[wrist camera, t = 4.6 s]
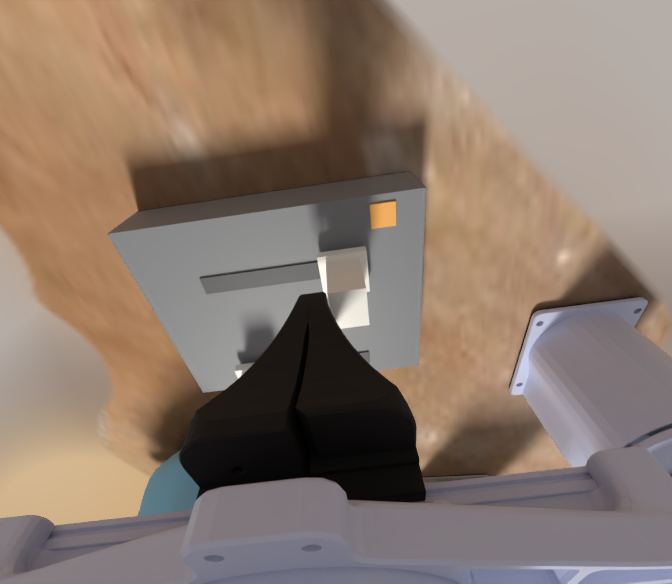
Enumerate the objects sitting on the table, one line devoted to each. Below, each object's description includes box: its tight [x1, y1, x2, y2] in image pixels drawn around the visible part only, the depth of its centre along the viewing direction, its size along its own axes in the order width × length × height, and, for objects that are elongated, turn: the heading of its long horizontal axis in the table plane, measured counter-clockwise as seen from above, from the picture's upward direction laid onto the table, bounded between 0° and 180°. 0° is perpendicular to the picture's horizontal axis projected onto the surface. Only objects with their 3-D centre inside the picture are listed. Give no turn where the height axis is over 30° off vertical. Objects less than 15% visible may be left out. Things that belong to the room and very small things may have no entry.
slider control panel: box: [107, 171, 426, 393], centre depth 19 cm, size 12×15×3 cm
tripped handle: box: [317, 246, 370, 329], centre depth 14 cm, size 2×2×3 cm
